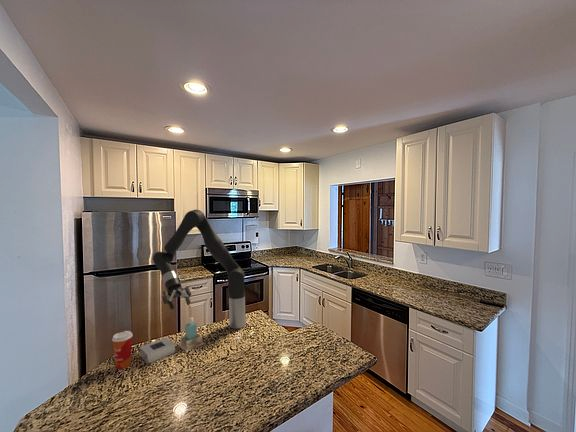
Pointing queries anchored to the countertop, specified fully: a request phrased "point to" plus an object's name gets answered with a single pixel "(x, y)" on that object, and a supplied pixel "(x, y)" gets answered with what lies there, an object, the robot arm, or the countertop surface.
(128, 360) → the paper cup
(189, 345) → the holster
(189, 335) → the teal bottle
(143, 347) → the block
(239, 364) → the countertop surface
